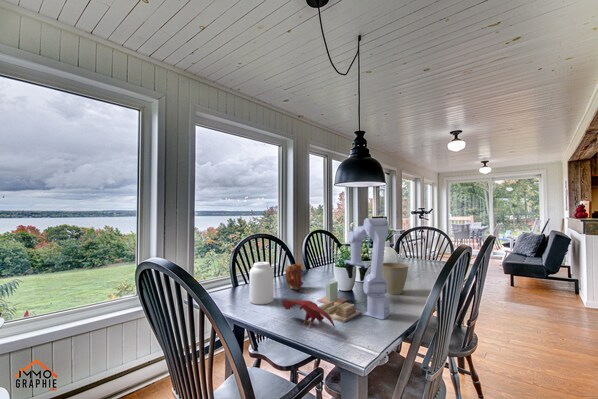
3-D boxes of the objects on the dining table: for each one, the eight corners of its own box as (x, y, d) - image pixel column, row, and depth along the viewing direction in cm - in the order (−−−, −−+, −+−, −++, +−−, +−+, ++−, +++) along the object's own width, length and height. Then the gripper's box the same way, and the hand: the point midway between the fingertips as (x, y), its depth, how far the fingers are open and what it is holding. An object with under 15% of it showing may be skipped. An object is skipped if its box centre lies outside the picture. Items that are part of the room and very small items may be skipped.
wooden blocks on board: (360, 313, 136) (360, 306, 136) (344, 322, 126) (344, 315, 126) (331, 305, 147) (331, 299, 147) (314, 313, 136) (314, 306, 136)
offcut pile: (355, 312, 135) (355, 304, 135) (345, 317, 128) (345, 309, 128) (346, 309, 138) (346, 302, 138) (335, 315, 132) (335, 307, 132)
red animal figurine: (290, 324, 134) (272, 305, 127) (300, 307, 139) (284, 287, 132) (339, 345, 114) (322, 324, 107) (349, 324, 119) (334, 302, 112)
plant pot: (412, 296, 160) (412, 267, 161) (385, 296, 161) (384, 267, 161) (403, 289, 175) (403, 262, 176) (378, 289, 176) (378, 262, 176)
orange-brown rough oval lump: (294, 285, 183) (294, 261, 183) (305, 287, 179) (305, 262, 179) (280, 291, 170) (280, 265, 171) (292, 294, 166) (292, 267, 166)
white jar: (244, 302, 152) (244, 263, 152) (258, 296, 163) (258, 259, 163) (264, 306, 146) (264, 266, 146) (278, 299, 157) (278, 261, 157)
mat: (346, 300, 154) (346, 299, 154) (334, 306, 146) (334, 304, 146) (329, 296, 162) (329, 295, 162) (317, 301, 153) (317, 300, 153)
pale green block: (337, 298, 156) (337, 281, 156) (330, 301, 151) (330, 284, 151) (333, 297, 157) (333, 280, 158) (326, 300, 152) (326, 283, 152)
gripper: (340, 253, 160) (340, 278, 160) (362, 256, 149) (362, 283, 149) (349, 251, 165) (349, 276, 165) (370, 254, 154) (371, 281, 154)
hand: (356, 279), depth 157 cm, fingers open, 7 cm apart
